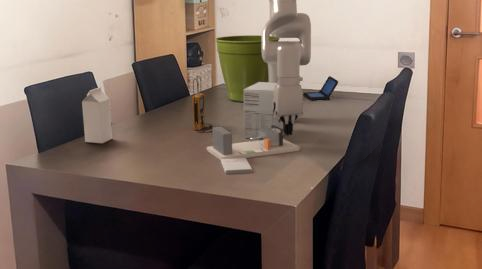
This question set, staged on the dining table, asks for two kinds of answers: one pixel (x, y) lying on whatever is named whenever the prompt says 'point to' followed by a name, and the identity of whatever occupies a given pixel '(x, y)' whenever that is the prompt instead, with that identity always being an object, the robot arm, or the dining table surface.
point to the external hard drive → (236, 165)
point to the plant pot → (242, 63)
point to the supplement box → (259, 109)
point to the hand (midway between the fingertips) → (288, 134)
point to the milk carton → (97, 117)
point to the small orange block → (267, 143)
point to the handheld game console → (323, 90)
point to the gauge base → (243, 146)
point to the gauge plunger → (270, 136)
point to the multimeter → (198, 109)
